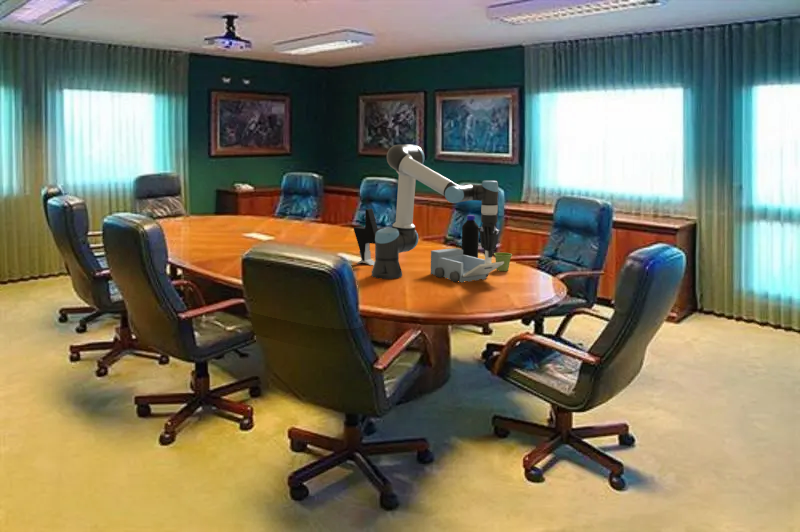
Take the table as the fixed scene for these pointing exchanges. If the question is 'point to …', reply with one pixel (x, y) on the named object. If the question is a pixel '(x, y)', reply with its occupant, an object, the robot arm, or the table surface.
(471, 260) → the truck bed
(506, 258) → the plant pot
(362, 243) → the award
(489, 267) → the tailgate
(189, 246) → the table surface
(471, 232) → the bottle
